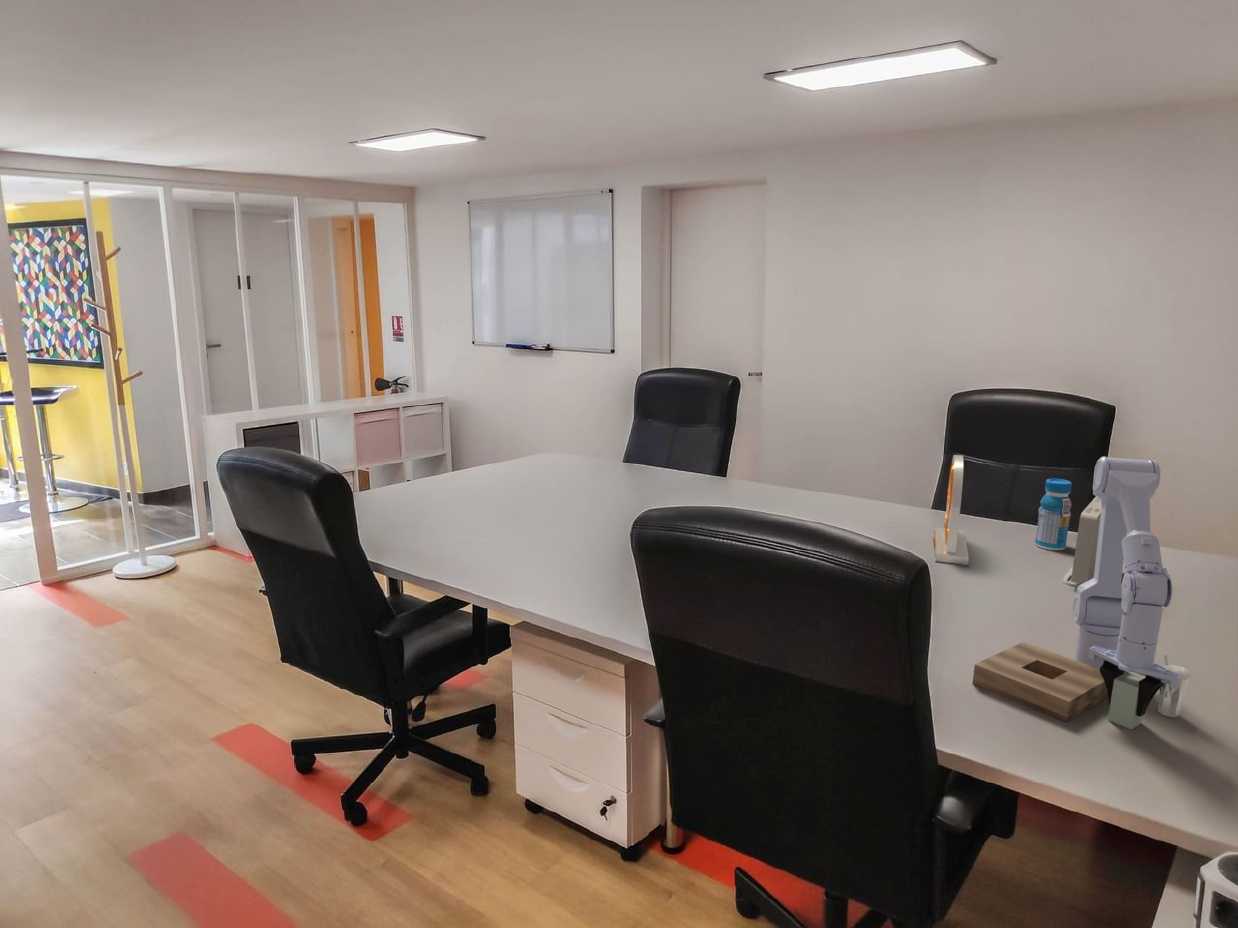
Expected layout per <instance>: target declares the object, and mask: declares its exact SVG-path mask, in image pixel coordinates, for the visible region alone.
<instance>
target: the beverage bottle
mask: <svg viewBox="0 0 1238 928" xmlns="http://www.w3.org/2000/svg"><path fill="white" fill-rule="evenodd" d="M1044 485H1045V487H1044V489H1045V492H1046V493H1045V494H1044V495H1043V496H1042V497H1041V500H1040V501H1039V502H1040V505H1041V506H1039V508H1038V518H1037V519H1038V521H1037V528H1036V536H1035V541H1034V543H1035V546H1037V547H1038V548H1041V549H1043V550H1049V551H1064V550H1065V549H1066V547H1067V539H1068V532H1069V527H1070V526H1069V525H1070V521H1071V519H1070V518H1071V517H1072V512H1071V508H1072V506H1073V504H1072V500H1071V497H1070V496H1069V495H1070V494H1071V492H1072V487H1073V486H1072V485H1073V484H1072V482H1071V481H1070V480H1066V479H1063V478H1062V479H1061V478H1048V479H1046V480H1045V484H1044Z"/></svg>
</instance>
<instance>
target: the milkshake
mask: <svg viewBox="0 0 1238 928" xmlns="http://www.w3.org/2000/svg"><path fill="white" fill-rule="evenodd" d="M1163 658H1164V663H1165V664H1164V665H1163V666H1162V667H1164V668H1166V669H1168V670H1170V671H1172V672H1175V673H1177V674H1180V675H1182V682H1181V686H1179V687H1178V688H1176V689H1175V688H1172V687H1170V685H1169V684H1166V683H1164V684H1163V686H1162V687H1161V688H1160V689H1159V694H1158V705H1157V713H1159V714H1160V715H1161V716H1165V717H1167V718H1171V719H1172V718H1174V719H1175V718H1178V717H1179V715H1180V713H1181V709H1182V706H1183V705H1182V704H1183V700H1184V697H1185V694H1186V690H1187V688H1188V685H1189V682H1190V678H1191V673H1190V672H1189V671H1188V669H1186V668H1185V667H1184V666H1178V665H1175V664H1174V665H1171V664H1169V663H1168V655H1167V654H1165V655H1164V656H1163Z"/></svg>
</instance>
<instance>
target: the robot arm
mask: <svg viewBox="0 0 1238 928" xmlns="http://www.w3.org/2000/svg"><path fill="white" fill-rule="evenodd" d="M1093 471H1094V472H1093V481H1092V482H1093V483H1092V491H1093V492H1092V495H1094V496H1095V497H1096V496H1097V497H1099V498H1101V517H1100V526H1099V535H1098V544H1097V553H1096V562H1095V571H1094V578H1093V579H1091V580H1089V581H1087V582H1085V583H1083V584H1081V583H1080V584H1081V585H1079V586H1078V587H1076V590H1075V596H1074V598H1073V602H1072V619H1073V620H1074V622H1075V624H1077V626H1079V628H1078V634H1077V635H1078V636H1077V640H1076V642H1077V643H1076V648H1075V656H1074V660H1075V661H1078V662H1081V663H1084V664H1086V665H1089V666H1092V667H1095V668H1098V669H1100V673H1101V675H1102V677H1103V679H1104V682H1105V685H1106V689H1107V693H1108V697H1107V699H1108V705H1109V706H1110V703H1111V696H1112V690H1113V684H1114V679H1115V678H1117V677H1119V676H1120V675H1122V674H1124V673H1125V672H1127V673H1135V674H1138V675H1140V676H1143V677H1145V678H1141V679H1142V680H1140V681H1139V700H1138V705H1137V710H1136V715H1137V716H1139V717H1141V716H1143V717H1144V715H1146V712H1147V709H1148V707H1149V705H1150V704H1151V701H1152V699H1153V698H1154V697H1155V695H1156V694H1157V693H1158V691H1160V688H1161V687H1162V686H1163V684H1164V683H1166V684H1169V685H1170V687H1172V688H1175V689H1176V688H1178V687H1179V686H1181V682H1182V675H1180V674H1177V673H1175V672H1172V671H1170V670H1168V669H1166V668H1164V667H1163V666H1162V665H1160V664H1158V663H1156V662H1155V657H1156V652H1157V647H1158V640H1159V635H1160V628H1161V622H1162V617H1163V613H1164V612H1163V611H1164V608H1167V607H1169V606H1170V604H1171V600H1172V597H1173V583H1172V582H1173V581H1172V577H1171V575H1170V574H1169V573H1168V569H1167V568H1166V567H1164V566H1163V560H1162V554H1161V547H1160V539H1159V538H1158V537H1157V536H1155V535H1154V534H1153V533H1151V509H1150V508H1151V507H1150V506H1151V505H1150V504H1151V502H1150V499H1152V498H1153V496H1154V495H1155V493H1156V490H1157V489H1158V487H1159V484H1160V482H1161V466H1160V465H1159V463H1158V462H1157V460H1155V459H1138V458H1137V459H1136V458H1121V457H1119V458H1118V457H1107V456H1105V455H1104V456H1101V457H1100V458H1099V459H1098V460H1097V461H1096V464H1095V466H1094V470H1093ZM1123 568H1124V575H1123Z"/></svg>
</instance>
